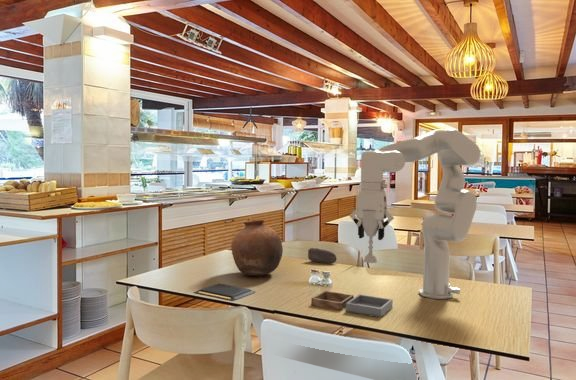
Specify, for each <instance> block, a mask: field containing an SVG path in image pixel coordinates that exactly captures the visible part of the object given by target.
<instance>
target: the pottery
mask: <svg viewBox="0 0 576 380" xmlns="http://www.w3.org/2000/svg"><path fill="white" fill-rule="evenodd" d="M264 222H265V219H264V218H263V219H253V220H249V221H248V220H247V221H243V224H244V225H245V226H244V228H242V229H241V230H240V231H239V232H237V233H236V235H234V237H233V239H232V240H231V245H230V247H231V249H230V250H231V254H232V257H233V260H234V264H235V266H236V267H237V270H238V271H239V272H240V273H242V274H243V275H245V276H254V277H255V276H256V277H257V276H265V275H268V274H271V273H272V272H274V271H275V270H276V269H277V268H278V267H279V265H280V263H281V259H282V257H283V252H284V248H283V243H282V240H281V238H280V237H281V236H280V235H279V234H278V233H277V231H276V230H274V229H273V228H272V227H269V226H268V225H265V224H264Z"/></svg>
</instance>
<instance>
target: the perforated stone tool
mask: <svg viewBox="0 0 576 380" xmlns="http://www.w3.org/2000/svg"><path fill="white" fill-rule="evenodd" d="M307 251H308V253H307V258H308V259H309V261H311V262H314V263H320V264H334V263H335V262H337V259H338V258H337V256H336V255H337V254H335V253H333V252H332V251H331V250H327V249H323V248H315V247H311V248H309V249H308V250H307Z"/></svg>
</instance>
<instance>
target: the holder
mask: <svg viewBox="0 0 576 380" xmlns="http://www.w3.org/2000/svg"><path fill="white" fill-rule="evenodd" d="M354 297H355V296H354V294H348V293H342V292H337V291H330V290H324V291H322V292H320V293H318V294H316V295H315V296H313V297H311V306H314V307H319V306H320V308H325V307H326V308H327V309H331V308H332V309H331V310H336V309H339V310H338V311H342V309H343V308H344V309H346V303H347V302H348V301H350V300H351V299H353V298H354ZM327 299H329V300H327ZM331 299H332V300H331ZM333 300H337V301H333ZM341 300H342V301H341ZM339 301H341V302H339ZM326 308H325V309H326ZM344 309H343V310H344Z"/></svg>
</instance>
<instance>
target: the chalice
mask: <svg viewBox="0 0 576 380" xmlns="http://www.w3.org/2000/svg"><path fill="white" fill-rule="evenodd" d="M362 212H363V213H364V214H363V219H362V225H363V228H364V234H366V236H367V237H369V241H368V247H367V248H368V250H369V251H368V253H367V254H365V256H364V259H363V263H369V264H376V263H378V262H379V261H378V259H377V256H376V254H374V253H373V249H374V247H373V243H374V241H373V238H374V237H375V236H376V234H378V229H379V227H380V226H379V224H378V220H376V219H375V213H376V211H364V210H362Z"/></svg>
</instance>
